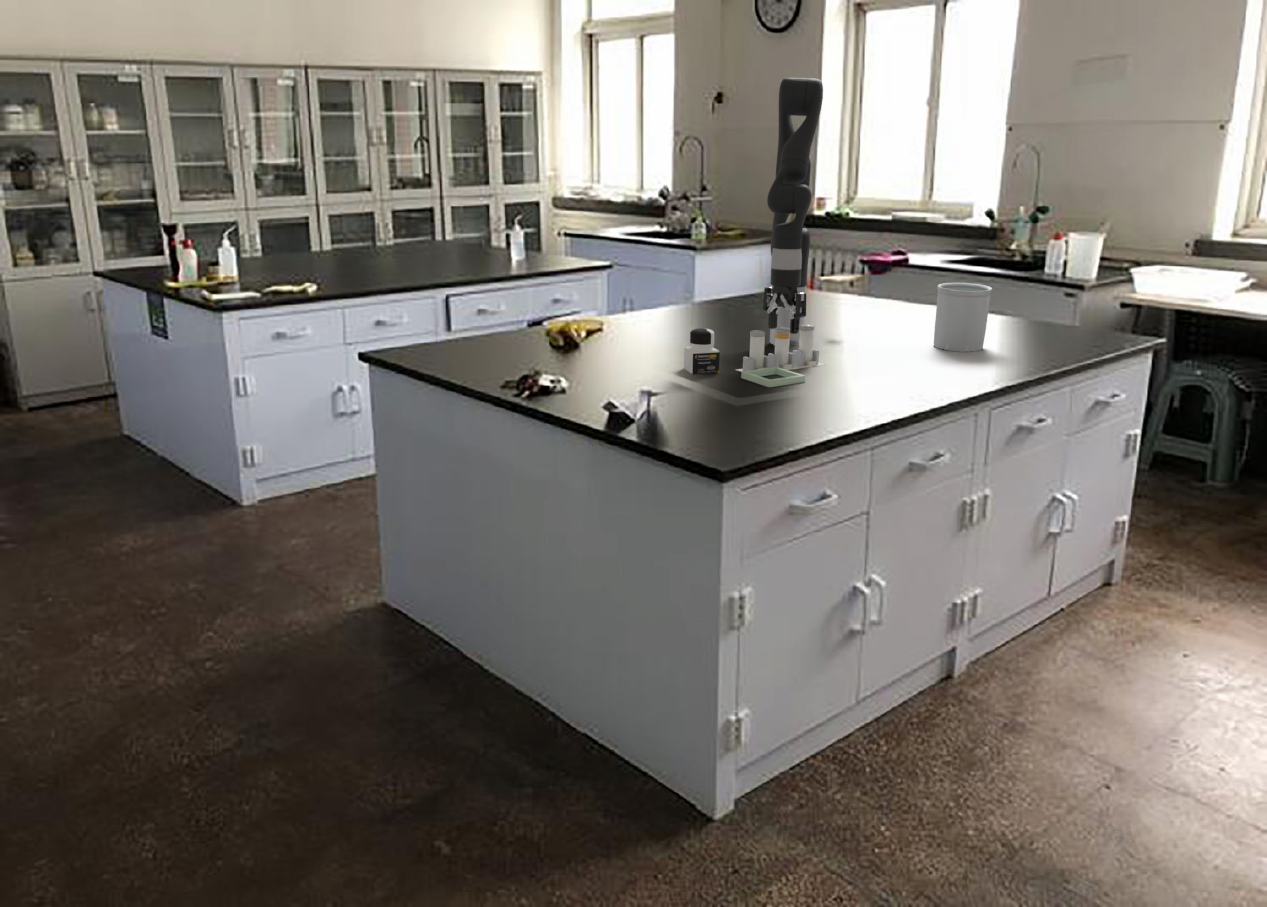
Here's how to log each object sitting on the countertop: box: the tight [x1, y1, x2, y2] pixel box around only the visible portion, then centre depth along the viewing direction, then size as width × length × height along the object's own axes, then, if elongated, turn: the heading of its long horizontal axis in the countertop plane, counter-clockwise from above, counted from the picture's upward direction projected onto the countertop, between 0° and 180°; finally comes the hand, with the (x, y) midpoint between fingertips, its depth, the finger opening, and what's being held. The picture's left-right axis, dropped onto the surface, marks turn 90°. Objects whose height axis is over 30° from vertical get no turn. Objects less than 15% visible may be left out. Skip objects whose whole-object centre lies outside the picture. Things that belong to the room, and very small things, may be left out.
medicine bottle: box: [683, 327, 721, 375], centre depth 262 cm, size 7×7×12 cm
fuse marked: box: [774, 327, 790, 369], centre depth 266 cm, size 4×4×10 cm
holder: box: [735, 348, 827, 372], centre depth 267 cm, size 7×24×5 cm, turn 121°
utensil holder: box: [933, 282, 993, 353], centre depth 297 cm, size 15×15×18 cm
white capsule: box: [798, 323, 816, 365], centre depth 270 cm, size 4×4×10 cm
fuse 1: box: [749, 329, 766, 370], centre depth 262 cm, size 4×4×10 cm
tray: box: [740, 367, 806, 388], centre depth 254 cm, size 11×11×3 cm
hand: (783, 330), depth 264 cm, fingers open, 8 cm apart
